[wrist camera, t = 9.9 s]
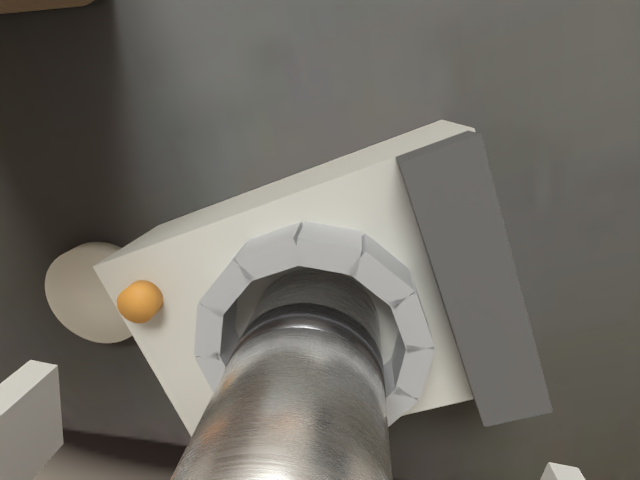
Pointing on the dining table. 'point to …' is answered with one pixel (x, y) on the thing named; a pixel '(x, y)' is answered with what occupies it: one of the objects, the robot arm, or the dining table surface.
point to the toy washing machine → (358, 264)
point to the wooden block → (38, 5)
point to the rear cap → (84, 294)
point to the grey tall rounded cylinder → (299, 390)
